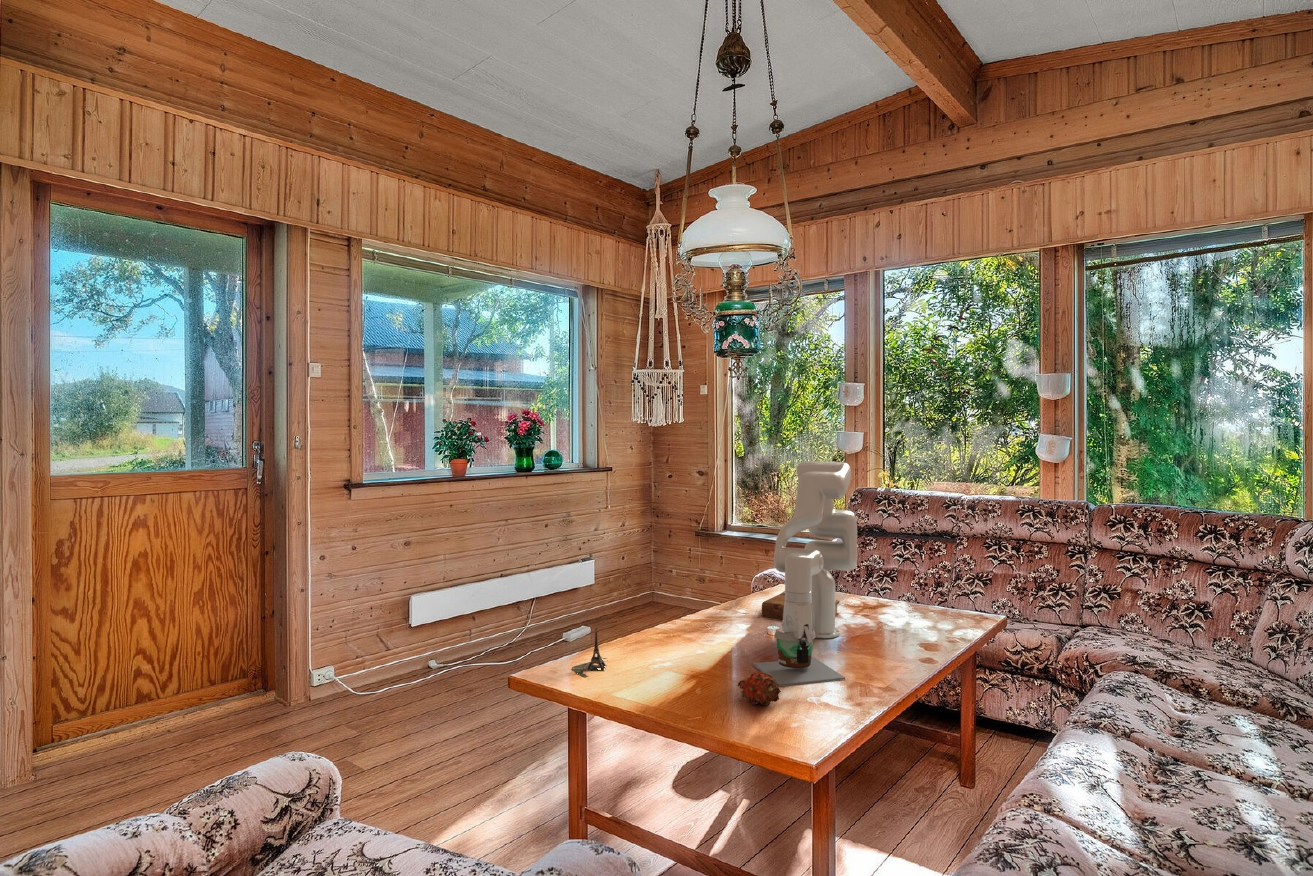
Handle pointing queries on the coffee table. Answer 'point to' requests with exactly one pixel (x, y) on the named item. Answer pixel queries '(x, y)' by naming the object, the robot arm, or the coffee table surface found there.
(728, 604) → the coffee table surface
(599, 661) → the eiffel tower figurine
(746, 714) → the coffee table surface
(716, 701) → the coffee table surface
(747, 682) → the dragon fruit
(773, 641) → the coffee table surface
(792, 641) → the food container
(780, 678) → the mat
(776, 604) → the brown flat wooden box
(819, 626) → the robot arm
